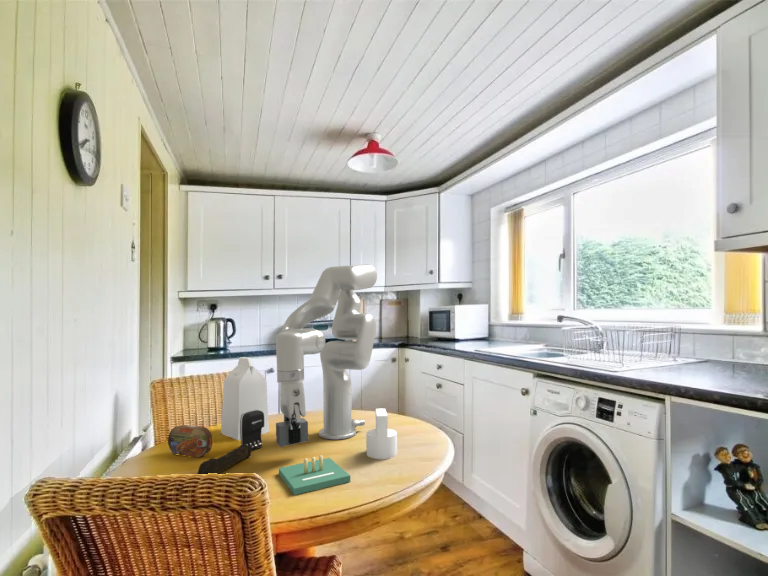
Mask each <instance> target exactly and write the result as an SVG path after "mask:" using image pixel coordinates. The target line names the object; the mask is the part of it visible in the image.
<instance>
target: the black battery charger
mask: <svg viewBox="0 0 768 576" xmlns="http://www.w3.org/2000/svg"><path fill="white" fill-rule="evenodd" d="M262 427H264V413H263V412H262V411H259V410H252V411H248V412H245V413H243V414H242V415H241V419H240V438H241V440H240V446H241V445H243V444H245V445H248V446H250V449H251V452H253V451H254V450H257V449H260V448H262V447H263V440H262V434H261V429H262Z"/></svg>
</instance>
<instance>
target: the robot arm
mask: <svg viewBox="0 0 768 576" xmlns="http://www.w3.org/2000/svg"><path fill="white" fill-rule="evenodd" d="M377 280H378V273H377V269H376V268H375V266H374V265H371V264H354V265H353V264H352V265H351V264H350V265H338V266H329V267H327V268H325V269H324V270H323V271H322V272H321V274H320V277H319V279H318V280H317V283H316V286H315V287H314V290H313V292H312V294H311V296H310V298H308V300H307V301H305V302H304V303H302V304H301V305H300V306H299V307H297V308H296V309H295V310H293V311H292V312H291V314H290V315H289V316H287V318H286V320H285V322H284V324H283V326H282V327H281V331H280V332H279V333H277V335H276V338H275V346H276V348H275V350H276V353H275V354H276V382H277V383H278V384H279V406H280V407H279V408H280V412H281V413H282V414H283V422H285V421H289V425H290V429H289V444H292V445H295V444H294V443H297V444H299V443H298V442H300V441H301V435H300V423H301V418H304V417H305V416H307V415H306V414H307V411H306V397H305V387H304V381H305V363H304V361H305V360H304V359H305V357H304V356H305V355H316V354H319V357H320V358H319V359H320V362H321V368H322V381H323V387H322V388H323V392H322V393H323V428H321V429H320V430H319V431H318V435H319V437H320V438H322V439H325V440H334V441H335V440H345V439H349V438H352V437H354V436H355V435H357V429H356V428H357V427H362V426H365V419H359V420H358V419H353V417H352V380H351V377H350V375H349V373H348V370H350V371H352V370H353V371H354V370H355V371H362V370H365V369H366V368H368V366H369V363H370V362H371V358H372V352H373V349H374V344H375V340H376V339H375V337H376V333H377V322H376V319H375V317H374V316H373V315H372V314H370V313H368V312H367V313H366V312H361V306H362V302H361V299H360V298H359V296H358V294H357V293H356V292H355V291H360V290H361V291H362V290H366V289H370V288H373V286H375V284H376V283H377ZM336 306H337V307H336ZM335 307H336V309H335ZM334 309H335V312H334ZM333 312H334V313H335V314H334V317H333V322H332V325H331V326H332V327H331V334H332V336H333V337H334V338H335V339H338V340H330V341H328V342H326V337H325V334H324V333H323V332H322V331H320V330H318V329H314V328H304V327H306V326H307V325H308V324H310V323H312V322H314V321H315V320H319V319H321V318H323V317H326V316H328V315H329V314H331V313H333ZM292 420H295V421H293V423H292Z"/></svg>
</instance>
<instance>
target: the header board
mask: <svg viewBox="0 0 768 576" xmlns="http://www.w3.org/2000/svg"><path fill="white" fill-rule="evenodd" d="M278 475H279V476H280V478H281V479H282V481H283V482H284V483H285V485H287V487H288V488H289V490H290V492H291V493H292V494H293V496H297V494H298V495H301V493H302V494H305V492H306V493H310V492H313V490H314V491H318V490H322V489H321V488H323V489H326V488H325V487H327V488H330V487H329V486H331V487H335V486H339V485H342V484H347V483H351V474H349V473H348V472H347V471H345V469H343V468H342V467H341V466H340V465H339V464H337V463H336V462H335V461H334V460H333V459H332V458H330V457H327V458H324V456H323V455H322V454H321V455H319V457H318V459H316V457H315V456H312V457H311V460H310V461H309V460H308V458H304V459H303V462H302V463H297V464H292V465H287V466H282V467H278ZM338 484H339V485H338ZM334 485H335V486H334ZM317 489H318V490H317ZM309 491H310V492H309Z"/></svg>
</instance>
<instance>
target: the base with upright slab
mask: <svg viewBox="0 0 768 576" xmlns="http://www.w3.org/2000/svg"><path fill="white" fill-rule="evenodd" d="M388 418H389V417H388V412H387V410H386V408H381V407H380V408H375V428H373V429H370V430H367V431H366V437H365V439H366V440H365V441H366V445H365V446H366V456H367V457H368V456H369V457H368V458H370V457H371V458H370V459H373V458H375V459H374V460H388V459H387V458H389V459H392V458H391V457H393V458H395V457H396V456H397V455H398V433H397V430H394V429H391V428H388V427H389V426H388V424H389V422H388ZM396 454H397V455H396ZM395 455H396V456H395ZM394 456H395V457H394Z"/></svg>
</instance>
